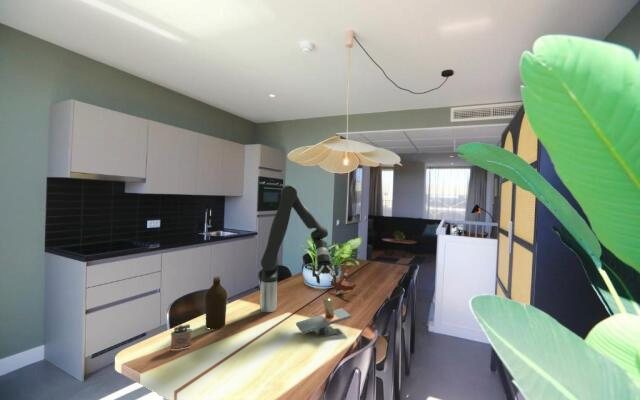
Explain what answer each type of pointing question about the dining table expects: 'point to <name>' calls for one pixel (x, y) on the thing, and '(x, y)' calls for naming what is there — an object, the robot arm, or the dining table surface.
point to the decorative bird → (342, 284)
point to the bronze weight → (328, 308)
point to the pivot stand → (325, 332)
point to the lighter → (181, 337)
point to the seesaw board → (322, 321)
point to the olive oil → (215, 305)
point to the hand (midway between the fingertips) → (326, 283)
